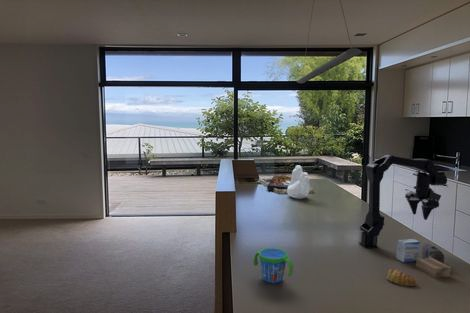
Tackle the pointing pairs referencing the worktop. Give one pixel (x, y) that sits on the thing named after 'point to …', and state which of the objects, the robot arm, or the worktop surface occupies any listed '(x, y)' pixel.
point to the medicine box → (408, 250)
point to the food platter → (279, 182)
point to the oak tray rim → (264, 182)
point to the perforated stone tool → (432, 252)
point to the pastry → (400, 278)
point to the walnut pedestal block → (433, 267)
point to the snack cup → (273, 264)
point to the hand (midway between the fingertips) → (419, 216)
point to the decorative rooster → (298, 183)
